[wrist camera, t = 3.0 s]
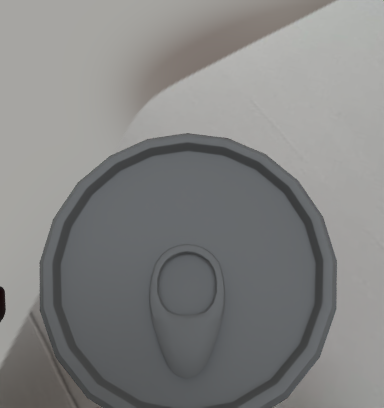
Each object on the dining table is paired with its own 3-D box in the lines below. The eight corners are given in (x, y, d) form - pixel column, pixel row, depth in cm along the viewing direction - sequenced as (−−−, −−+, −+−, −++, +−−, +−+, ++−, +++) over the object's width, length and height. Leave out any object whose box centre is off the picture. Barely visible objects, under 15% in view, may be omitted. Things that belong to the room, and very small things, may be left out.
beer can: (126, 375, 16) (-31, 477, 5) (134, 243, 19) (37, 112, 7) (263, 376, 16) (407, 480, 5) (254, 242, 19) (339, 108, 7)
